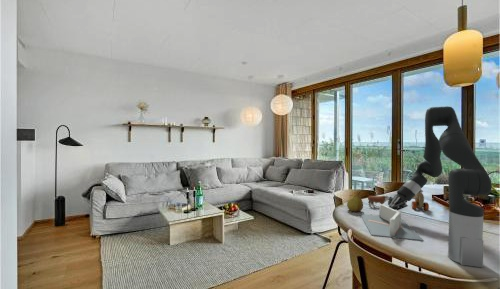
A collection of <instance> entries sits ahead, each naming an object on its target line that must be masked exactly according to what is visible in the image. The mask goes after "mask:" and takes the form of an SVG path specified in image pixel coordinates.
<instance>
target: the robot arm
mask: <svg viewBox="0 0 500 289" xmlns="http://www.w3.org/2000/svg"><path fill="white" fill-rule="evenodd" d="M425 111H426V112H425V116H424V140H425V141H424V142H425V144H424V150H423V151H424V152H423V158H424V160H422V161H420V162H419V164H418V165H417V168H416V170H415V171H414V174H413V175H412V176H410V177H409V179H408V180H407V181H405V182H404V183H403V184H402V185H401V186H400V187H399V189H398V190H397V191H396V194H395V195H394V196H389V200H387V201H388V202H387V205H388V207H390V208H392V209H394V210H396V211H400V210H403V209H405V208H407V207H408V204H407V203H408V202H411V200H413V199H412V198H413V197H414V196H415V195H416V194H417V193H418V192H419V191H420V189H421V190H422V188H423V187H424V186H425V185H427V183H428V179H427V178H426V176H424V175H427V176H429V177H431V178H438V177H440V175H441V174H442V172H443V166H442V164H443V163H442V160H441V156H442V154H444V156H445V157H447V158H448V159H449V160H451V161H452V162H454V163H456V164H457V165H459V166H460V167H461V168H452V169H451V170H450V171H449V173H448V177H447V179H448V182H447V184H448V206H449V207H448V210H449V211H448V240H447V242H448V244H447V247H448V253H447V255H448V258H449V259H450V260H452V261H454V262H456V263H457V264H460V265H461V266H469V267H476V268H484V238H483V237H484V236H483V234H484V212H485V211H484V208H483V207H482V206H480V205H477V204H475V203H472V202H469V201H467V200H466V199H465V198H464V195H467V196H468V195H469V196H487V195H489V194H490V193H491V192H492V187H493V184H492V179H491V177H490V175H489V173H488V172H487V170H486V169H485V168H484V166H483V165H482V163H481V162H480V161H479V159H478V158H477V156H476V154H475V152H474V150H473V148H472V145H471V144H470V142H469V140H468V138H467V137H466V135H465V133H464V132H463V129H462V127H461V124H460V122H459V119H458V116H457V113H456V110H455V109H454V108H453V107H452V106H448V105H447V106H432V107H428V108H427V109H426V110H425ZM443 126H445V127H447V128H446V129H445V130H444V131H443V132H442V133H441V135H440V136H439V139H438V137H437V136H436V134H435V132H434V127H443ZM423 174H424V175H423ZM441 176H442V175H441Z"/></svg>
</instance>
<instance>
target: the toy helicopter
mask: <svg viewBox="0 0 500 289" xmlns="http://www.w3.org/2000/svg"><path fill="white" fill-rule="evenodd" d="M411 200H413V201H411V208H412V210H417V209H423V210H424V211H429V209H430V206H429V203H428V202H426V201H425V196H424V191H423V190H422V188H421V189H420V191H419V192H418V193H417V194H416V195H415V196H414V197H413V198H412V199H411Z"/></svg>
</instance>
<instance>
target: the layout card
mask: <svg viewBox="0 0 500 289" xmlns="http://www.w3.org/2000/svg"><path fill="white" fill-rule="evenodd" d="M359 215H360V217H361V218H362V220H363V222H364V225H365V226H366V229H367V230H368V232H369V233H370V236H372V237H374V236H375V237H382V238H383V237H384V238H393V239H403V240H412V241H422V242H424V241H425V240H424V239H423V238H422V237H421V236H420V235H419V234H418V233H417V232H416V231H415V230H414V229H413V228H412V227H411V226H410V225H409V224H408V223H407V222H406V221H405V220H404V219H402V218H401V227H399V228H398V230H397V231H396V232H395V236H391V235H390V222H389V221H387V220H385V219H383V218H381V217H379V215H378V214H367V213H360V214H359Z"/></svg>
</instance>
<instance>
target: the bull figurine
mask: <svg viewBox="0 0 500 289" xmlns="http://www.w3.org/2000/svg"><path fill="white" fill-rule="evenodd" d="M389 197H390V196H389V195H388V194H386V195H385V194H383V195H368V197H367V200H368V201H367V202H368V206H369V207H373V208H376V206H375V205H376V204H378V203H379V204H383V205H384V204H385V203H386V202H387V201H389Z"/></svg>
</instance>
